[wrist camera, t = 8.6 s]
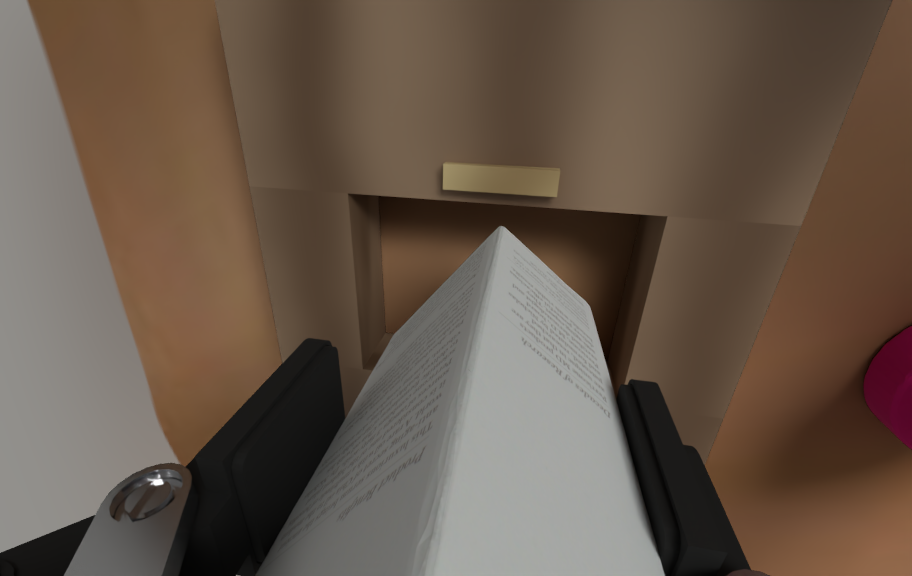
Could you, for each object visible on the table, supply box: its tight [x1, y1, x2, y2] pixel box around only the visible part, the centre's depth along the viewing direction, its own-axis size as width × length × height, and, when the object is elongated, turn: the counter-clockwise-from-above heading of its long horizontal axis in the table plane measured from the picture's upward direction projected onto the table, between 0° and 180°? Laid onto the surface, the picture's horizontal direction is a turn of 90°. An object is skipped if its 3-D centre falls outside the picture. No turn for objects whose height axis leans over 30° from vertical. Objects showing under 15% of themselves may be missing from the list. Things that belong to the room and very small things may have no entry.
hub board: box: [215, 0, 892, 465], centre depth 16 cm, size 18×22×3 cm
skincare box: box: [255, 226, 665, 576], centre depth 9 cm, size 6×4×12 cm
